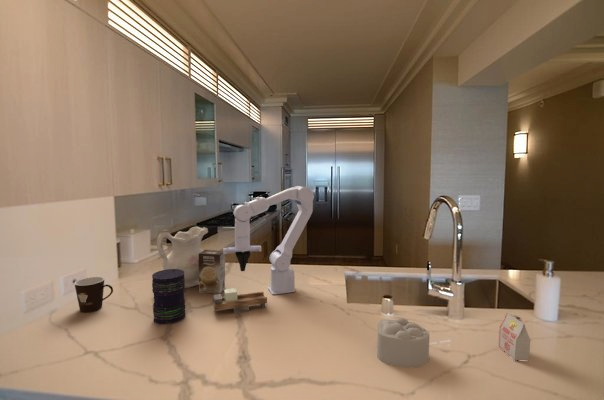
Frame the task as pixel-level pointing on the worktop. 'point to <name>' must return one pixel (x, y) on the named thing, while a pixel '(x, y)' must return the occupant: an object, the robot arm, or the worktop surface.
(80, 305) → the coffee mug
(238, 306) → the beam
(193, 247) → the ceramic pitcher
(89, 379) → the worktop surface
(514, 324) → the gable top carton
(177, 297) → the storage jar
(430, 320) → the worktop surface
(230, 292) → the block
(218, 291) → the coffee box
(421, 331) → the lumpy-topped squat cylinder
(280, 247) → the robot arm
